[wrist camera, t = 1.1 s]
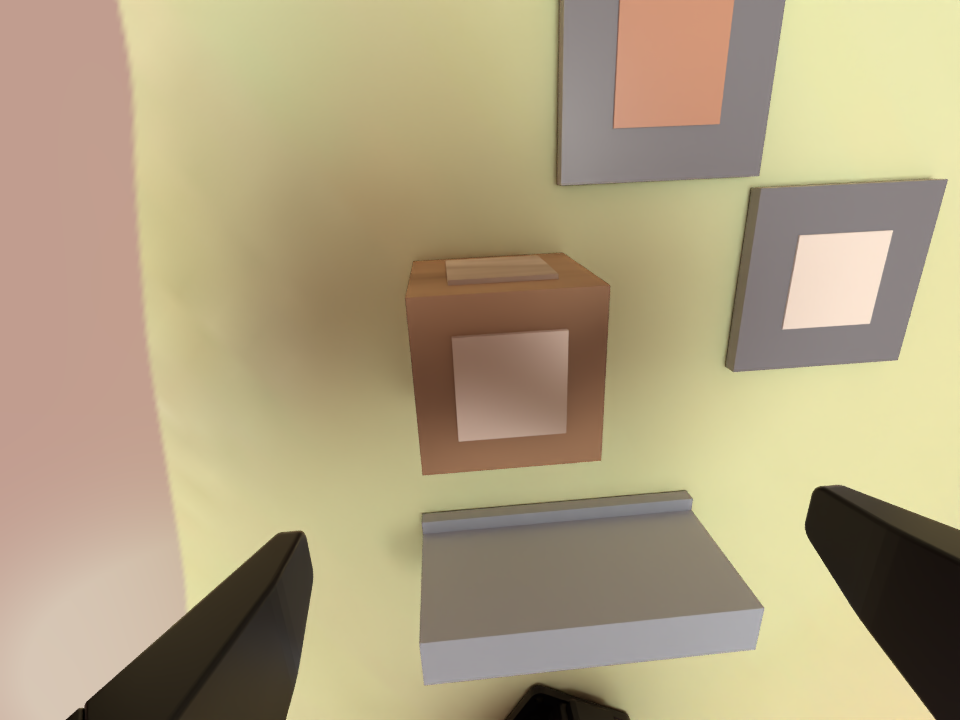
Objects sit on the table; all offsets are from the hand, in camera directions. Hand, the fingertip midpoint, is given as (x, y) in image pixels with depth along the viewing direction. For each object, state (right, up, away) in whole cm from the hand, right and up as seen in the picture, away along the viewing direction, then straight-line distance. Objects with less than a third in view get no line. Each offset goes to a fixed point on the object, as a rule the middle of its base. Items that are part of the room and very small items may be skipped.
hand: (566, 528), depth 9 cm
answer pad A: (+12, +6, +11) cm, 17 cm away
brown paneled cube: (-1, +4, +11) cm, 12 cm away
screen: (+2, -5, +14) cm, 15 cm away
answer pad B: (+5, +13, +8) cm, 15 cm away
